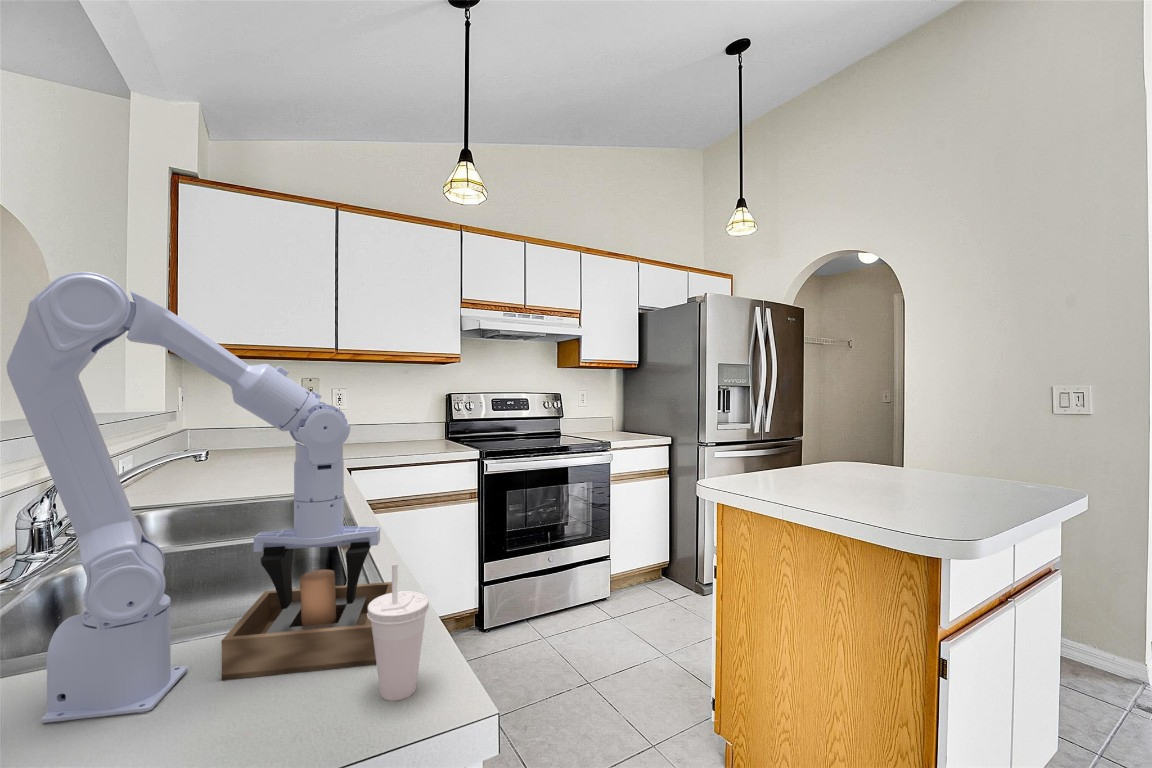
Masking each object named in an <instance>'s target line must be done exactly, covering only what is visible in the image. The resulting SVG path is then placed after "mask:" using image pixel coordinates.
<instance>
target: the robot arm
mask: <svg viewBox="0 0 1152 768" xmlns="http://www.w3.org/2000/svg"><path fill="white" fill-rule="evenodd" d="M129 292H130V294H131V297H132V301H131V300H130V298H129V295H128V294H127V292H126V290H125V289H124V288H123V287H122V286H121V285H120V284H119V283H118V282H116V281H115V280H113V279H112V278H110V277H107V276H106V275H103V274H100V273H96V272H91V271H74V272H70V273H69V272H68V273H66V274H64V275H61V276H58V277H56V278H55V279H54V280H53V281H51V282H49V284H48V285H46V287H44V289H42V290H41V291H40V292H39V293H38V294H36V295H35V296H34V297H33V298H32V299H31V300H30V301H29V303H28V308H27V312H26V317H25V320H24V322H23V324H22V326H21V328H20V331H19V334H18V336H17V339H16V341H15V343H14V345H13V348H12V350H11V353H10V355H9V357H8V360H7V363H6V372H7V376H8V379H9V381H10V383H11V386H12V388H13V391H14V393H15V394H16V397H17V400H18V401H19V405H20V407H21V409H22V412H23V413H24V416H25V418H26V421H27V422H28V425H29V427H30V430H31V432H32V435H33V437H34V439H35V442H36V444H37V447H38V448H39V452H40V453H41V455H42V459H43V460H44V463H45V465H46V468H47V470H48V472H49V475H50V477H51V480H52V482H53V484H54V487H55V489H56V491H57V492H58V496H59V498H60V501H61V503H62V505H63V507H64V509H65V513H66V514H67V517H68V519H69V522H70V524H71V526H72V529H73V530H74V533H75V536H76V538H77V542H78V548H79V555H80V556H79V557H80V562H81V565H82V569H83V571H84V574H85V576H86V583H85V584H86V585H85V589H84V593H83V605H84V608H85V611H84V612H83V613H81V614H76V615H72V616H70V617H67V618H66V619H64V621H62V622H61V623H60V624H59V625H58V627H57V628H56V630H55V631H54V633H53V634H52V637H51V639H50V642H49V644H48V648H47V651H46V652H47V654H46V713H45V714H44V715H43V716H42V717H41V723H42V724H43V723H53V722H62V721H63V722H64V721H71V720H72V721H73V720H79V719H80V720H81V719H89V718H97V717H98V718H99V717H107V716H117V715H124V714H133V713H144V712H149V711H151V710H152V709H154V708H155V707H156V705H158V704H159V702H160V701H162V699H163V698H164V697H165V695H166V694H168V692H169V691H170V690H171V689H172V688H173V687H174V685H176V684H177V682H178V681H179V680H180V679H181V678H182V676H184V675H185V674H186V672H187V671H188V669H189V668H188V666H187V665H182V666H181V665H180V666H179V665H178V666H171V663H172V661H171V660H172V656H171V653H172V652H171V651H172V650H171V649H172V648H171V647H172V646H171V640H172V639H171V638H172V637H171V636H172V635H171V633H172V632H171V597H170V596H169V595H167V594H166V593H165V591H166V577H165V575H164V570H165V566H166V559H165V554H164V552H163V550H162V549H161V547H160V546H159V545H157V544H156V543H155V542H153V541H152V540H150V539H149V538H148V537H147V536H146V535H145V533H144V531H143V528H142V525H141V524H140V521H139V520H138V518H136V516H135V514H134V512H133V510H132V507H131V505H130V502H129V500H128V498H127V495H126V493H125V490H124V487H123V485H122V483H121V480H120V477H119V475H118V473H117V470H116V467H115V465H114V463H113V460H112V457H111V455H110V453H109V450H108V447H107V445H106V441H105V440H104V437H103V435H102V432H101V430H100V427H99V425H98V422H97V420H96V416H95V415H94V412H93V410H92V407H91V405H90V402H89V400H88V398H87V395H86V392H85V390H84V387H83V385H82V382H81V380H80V374H81V372H83V370H85V368H86V367H87V366H88V364H89V363H90V362H91V361H92V360H93V359H94V358H95V356H96V355H97V353H98V352H99V350H100V349H102V348H103V347H105V346H107V345H109V344H111V343H112V342H113V341H116V339H118V338H119V337H121V336H123V335H124V334H125V333H127V334H126V339H127V340H128V341H129V342H132V343H140V344H146V345H147V344H148V345H154V346H159V347H163V348H164V349H167V351H170V352H171V353H173V354H174V355H176V356H178V357H180V358H182V359H184V360H185V361H187V362H189V363H190V364H192V365H194V366H195V367H196V368H197V367H198V368H199V369H201V370H202V371H204V372H206V373H208V374H209V375H211V376H213V377H214V378H217V379H218V380H220V381H221V382H223V383H225V384H226V385H228V386H230V388H231V393H232V394H231V395H232V399H233V402H234V404H236V405H238V406H240V407H241V408H243V409H245V410H246V411H248V412H250V413H251V414H253V415H254V416H256V417H258V419H259V418H260V419H261V420H263V422H264V421H265V422H266V423H267V424H269V425H271V426H272V427H274V428H276V429H277V430H279V431H281V432H289V435H290V437H291V438H292V439H293V440H294V441H295V444H294V445H295V451H294V452H295V453H294V454H295V457H294V458H295V460H294V464H293V528H290V529H283V530H276V531H275V530H274V531H264V532H258V533H257V534H256V535H255V536H254V537H253V553H263V554H262V556H261V557H260V563H261V566H262V567H263V569H264V570H265V571H266V573H267V575H268V576H269V577H270V580H271V582H272V584H273V586H274V588H275V590H276V591H277V594H278V598H279V601H280V606H281V609H287V608H288V606H289V605H290V604H291V602H292V589H293V583H292V579H293V578H292V571H293V569H292V568H293V559H294V558H293V556H294V549H305V548H306V549H307V548H308V549H309V548H310V549H311V548H325V547H342V546H349V548H348V549H347V551H346V552H345V561H346V572H347V573H346V574H347V579H346V581H347V584H346V585H347V595H346V600H347V604H352V603H353V602H354V599H355V595H356V588H357V584H359V583H358V582H359V579H360V576H361V572H362V569H363V566H364V564H365V562H366V559H367V556H368V554H369V552H370V550H371V548H372V547H373V546H379V544H380V541H381V527H380V526H358V525H357V526H356V525H355V526H354V525H345V524H344V523H345V522H344V518H345V517H344V510H345V509H344V508H345V507H344V506H345V505H344V504H345V503H344V502H345V501H344V493H345V492H344V491H345V490H344V489H345V488H344V486H345V484H344V481H345V480H344V479H345V478H344V476H345V475H344V474H345V473H344V468H345V467H344V466H345V464H344V463H345V461H344V444H345V442H346V441H347V440H348V437H349V436H350V432H351V426H350V425H349V424H348V419H347V418H346V415H345V414H344V412H342V410H341V409H339V408H338V407H336V406H335V405H332V404H326V403H325V402H324V401H320V400H321V398H322V396H323V395H322V394H321V393H319V392H317V391H316V390H314V391H312V392H310V390H308V389H306V388H305V387H303V386H302V385H300V384H298V382H295V381H294V380H293V379H291V378H290V377H289V376H287V375H288V374H289V371H288V370H287V369H286V368H285V367H283V366H281V365H279V366H278V365H277V366H276V367H274V366H272V365H271V364H268V363H262V364H261V363H260V364H253V365H251V364H250V365H249V364H248V363H246V362H245V361H243V359H241V358H239V357H238V356H236V355H235V354H233V353H232V352H230V351H229V350H228V349H226V348H225V347H223V346H222V345H221V344H219V343H217V342H216V341H214V340H213V339H211V338H210V337H209V336H207V335H206V334H204V333H203V332H201V330H199V329H197V328H196V327H194V326H193V325H192V324H190V323H188V322H187V321H186V320H184V319H183V318H181V317H180V316H178V315H177V314H175V313H174V312H173V311H171V310H169V309H168V308H165V307H163V306H162V305H160V304H158V303H156V302H155V301H153V300H151V299H149V298H147V297H145V296H144V295H141V294H139V293H137V292H135V291H133V290H130V291H129Z"/></svg>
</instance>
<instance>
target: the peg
mask: <svg viewBox="0 0 1152 768" xmlns="http://www.w3.org/2000/svg"><path fill="white" fill-rule="evenodd" d="M335 574H336V573H335V571H334V570H333V569H327V568H326V569H317V570H311V571H308V572H305V573H304V574H302V575H301V576H300V578H299V584H300V585H299V586H300V588H299V589H300V592H301V621H302V626H310V625H321V624H333V623H336V596H335V586H336V575H335Z"/></svg>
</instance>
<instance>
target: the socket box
mask: <svg viewBox="0 0 1152 768" xmlns="http://www.w3.org/2000/svg"><path fill="white" fill-rule="evenodd" d="M388 593H392V581H385V582H371V583H357V588H356V595H355V597H364V596H367V613H368V605H369V603H370V602H371V601H372V600H374V599H375V598H377V597H379V596H382V595H385V594H388ZM346 595H347V584H346V585H344V584H343V585H335V596H336V599H338V598H346ZM299 601H301V592H300V588H292V602H299ZM282 610H283V609H281V606H280V601H279V598H278V594H277V591H276V589H275V590H265V591H264V592H263V593H262V594H261V595H260V596H259V597H258V598H257V600H256V601H255V602H254V604H252V605H251V607H249V609H248V610H247V611H246V612H245V613H244V615H243V616H242V617H241V618H240V619H239V620H238V621H237V623H236V624H235V625H234V626H233V627H232V628H231V629H230V630H229V632H228V633H227V634H226V635H225V636H224V637H223V638H222V639H221V681H228V680H229V681H230V680H238V679H247V678H248V679H249V678H258V677H259V678H260V677H266V676H277V675H286V674H295V673H305V672H315V671H316V672H317V671H325V670H333V669H334V670H335V669H345V668H354V667H364V666H371V665H373V666H374V665H377V664H376V656H375V649H374V641H373V634H372V626H371V621H370V620H369V619H368V617H367V618H366V621H365V624H364V625H356V626H345V627H334V628H322V629H311V630H300V631H288V632H277V633H266V632H267V631H268V629H269V628H270V627H271V625H272V624H273V623H274V621H275V620H276V619H277V617H278V616H279V615H280V613H281V612H282Z"/></svg>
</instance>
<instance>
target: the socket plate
mask: <svg viewBox="0 0 1152 768" xmlns="http://www.w3.org/2000/svg"><path fill="white" fill-rule="evenodd" d="M366 618H367V596H364V597H355V599H354V602H353V603H352V604H347V600H346V598H338V599H336V623H333V624H321V625H310V626H302V621H301V601H299V602H291V604H290V605H289V606H288V608H287V609H283V610H282V612H281V613H280V615H279V616H278V617H277V619H276V620H275V621H274V623H273V624H272V625H271V627H270V628H269V629H268V631H267V632H266V633H277V632H288V631H300V630H311V629H322V628H334V627H345V626H356V625H364V624H365V621H366Z"/></svg>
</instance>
